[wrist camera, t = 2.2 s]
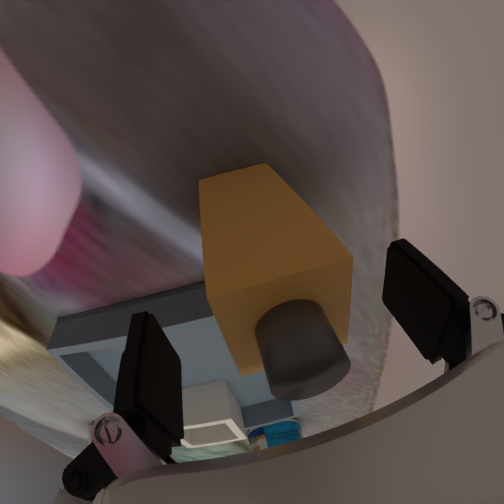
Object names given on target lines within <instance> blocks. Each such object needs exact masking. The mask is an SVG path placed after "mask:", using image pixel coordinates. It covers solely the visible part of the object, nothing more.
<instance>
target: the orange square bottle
mask: <svg viewBox="0 0 504 504" xmlns="http://www.w3.org/2000/svg"><path fill="white" fill-rule="evenodd" d="M199 202H200V220H201V235H202V249H203V262H204V274H205V285H206V296H207V300H208V302H209V304H210V307H211V309H212V312H213V314H214V316H215V319H216V321H217V323H218V326H219V328H220V330H221V333H222V335H223V337H224V340H225V342H226V344H227V346H228V349H229V351H230V353H231V355H232V357H233V360H234V362H235V364H236V366H237V368H238V370H239V373H240V375H241V376H243V375H247V374H251V373H255V372H259V371H263V370H265V374H266V377H267V381H268V384H269V388H270V391H271V394H272V395H273V396H274V397H275V398H277V399H280V400H285V401H296V400H302V399H307V398H310V397H313V396H316V395H319V394H321V393H323V392H325V391H327V390H329V389H330V388H332V387H334V386H335V385H336V384H338V383H339V382H340V381H341V380H342V379H343V378H344V377H345V376H346V375H347V373H348V372H349V369H350V366H351V362H350V360H349V358H348V356H347V354H346V352H345V350H344V348H343V346H342V345H343V344H346V343H347V336H348V326H349V315H350V302H351V287H352V265H353V255H352V254H351V253H350V252H349V251H348V250H347V248H346V247H345V246H344V245H343V244H342V243H341V241H340V240H339V239H338V238H337V237H336V236H335V235H334V234H333V232H332V231H331V230H330V229H329V228H328V227H327V226H326V225H325V224H324V222H323V221H322V220H321V219H320V218H319V217H318V216H317V215H316V214H315V213H314V212H313V210H312V209H311V208H310V207H309V206H308V205H307V204H306V203H305V202H304V201H303V200H302V199H301V198H300V197H299V196H298V195H297V193H296V192H295V191H294V190H293V189H292V188H291V187H290V186H289V185H288V184H287V183H286V182H285V181H284V180H283V179H282V178H281V177H280V176H279V175H278V174H277V173H276V172H275V171H274V170H273V169H272V168H271V167H270V166H269V165H268V164H267V163H263V164H259V165H254V166H250V167H246V168H242V169H238V170H234V171H230V172H226V173H222V174H218V175H215V176H211V177H207V178H204V179H200V180H199Z"/></svg>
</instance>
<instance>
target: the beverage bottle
mask: <svg viewBox="0 0 504 504" xmlns="http://www.w3.org/2000/svg"><path fill="white" fill-rule="evenodd" d="M302 438H303V435H302V431H301V427H300V424H299V422H298V421H297V420H296V419H293V418H292V419H288V420H285V421H281V422H278V423H274V424H270V425H266V426H262V427H258V428H254V429H250V430H249V432H248V439H249V442H250V447H251V451H257V450H261V449H265V448H269V447H274V446H277V445H281V444H285V443H289V442H292V441H296V440H299V439H302Z"/></svg>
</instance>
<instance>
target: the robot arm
mask: <svg viewBox="0 0 504 504" xmlns="http://www.w3.org/2000/svg"><path fill="white" fill-rule="evenodd" d="M468 298H469V296H468V295H467V294H466V293H465V292H464V291H463V290H462V289H461V288H460V287H459V286H458V285H456V283H454V282H453V281H452V280H451V279H450V278H449V277H448V276H447V275H446V274H445V273H444V272H443V271H442V270H441V269H439V268H438V267H437V266H436V265H435V264H434V263H432V262H431V261H430V260H429V259H428V258H427V257H426V256H424V254H422V253H421V252H420V251H419V250H418V249H417V248H415V247H414V246H413V245H412V244H411V243H409V242H408V241H407V240H406V239H399V240H396V241H393V242H391V244H390V247H388V249H387V258H386V269H385V278H384V286H383V294H382V300H383V303H384V305H385V306H386V307H387V309H388V310H389V311H390V312H391V314H392V315H393V316H394V317H395V319H396V320H397V321H398V323H399V324H400V325H401V327H402V328H403V329H404V331H405V332H406V333H407V335H408V336H409V337H410V339H411V340H412V342H413V343H414V344H415V346H416V347H417V348H418V350H419V351H420V353H421V354H422V355H423V357H424V358H425V359H427V360H428V359H429V361H430V362H431V363H432V364H434V363H436V362H437V361H439V360H441V359H442V357H443V359H444V360H445V370H444V374H443V375H441V376H440V377H438V378H437V379H435V380H433V381H432V382H430V383H428V384H426V385H425V386H423V387H421V388H419V389H418V390H416V391H414V392H412V393H410V394H409V395H407V396H405V397H403V398H401V399H399V400H397V401H395V402H393V403H391V404H389V405H387V406H385V407H383V408H381V409H378V410H376V411H374V412H372V413H370V414H367V415H365V416H363V417H360V418H358V419H355V420H353V421H351V422H348V423H346V424H343V425H340V426H338V427H335V428H332V429H329V430H327V431H324V432H321V433H318V434H315V435H312V436H309V437H305V438H302V439H299V440H296V441H292V442H289V443H285V444H281V445H277V446H274V447H269V448H265V449H261V450H257V451H252V452H247V453H242V454H237V455H231V456H225V457H219V458H213V459H206V460H199V461H191V462H182V463H179V462H178V461H177V460H176V459H175V458H174V457H173V456H172V455H171V454H172V448H171V447H177V446H181V439H183V438H184V422H183V402H182V366H181V360H180V357H179V355H178V354H177V352H176V351H175V349H174V348H173V346H172V344H171V343H170V341H169V340H168V338H167V336H166V335H165V333H164V331H163V330H162V328H161V326H160V325H159V323H158V321H157V319H156V318H155V316H154V315H153V314H149V313H148V312H147V311H144V312H139V313H135V314H133V315H132V316H131V321H130V326H129V331H128V336H127V341H126V346H125V351H123V353H122V355H121V360H120V366H119V372H118V379H117V385H116V392H115V400H114V408H113V413H111V412H108V413H105V414H102V415H101V416H99V417H98V418H97V419H96V420H95V421H94V423H93V425H92V429H91V438H92V440H93V442H92V443H90V444H89V445H88V446H87V447H86V448H85V449H84V450H83V451H82V452H81V453H80V454H79V455H78V456H77V457H76V458H75V459H74V460H73V461H72V462H71V463H70V464H69V465H67V467H66V468H65V469H64V472H63V477H62V481H63V485H64V489H62V488H60V489H59V491H58V493H57V495H56V497H55V499H54V501H53V503H52V504H504V314H502V313H500V309H499V307H498V305H497V304H496V303H495V302H494V301H493V300H492V299H490V298H488V297H484V296H478V297H475V298H474V299H473V300H472V301H471V303H470V302H469V301H468Z"/></svg>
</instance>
